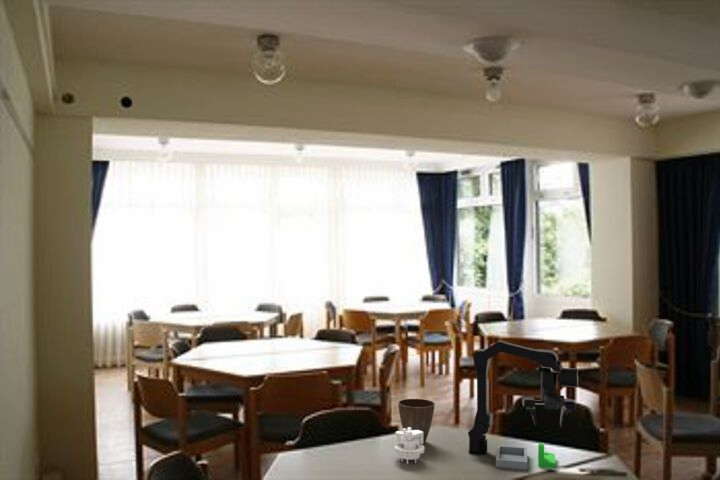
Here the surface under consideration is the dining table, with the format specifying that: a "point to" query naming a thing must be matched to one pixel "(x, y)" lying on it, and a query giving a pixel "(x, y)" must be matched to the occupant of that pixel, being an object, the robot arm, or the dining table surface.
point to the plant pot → (417, 415)
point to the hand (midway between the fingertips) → (548, 426)
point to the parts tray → (511, 457)
